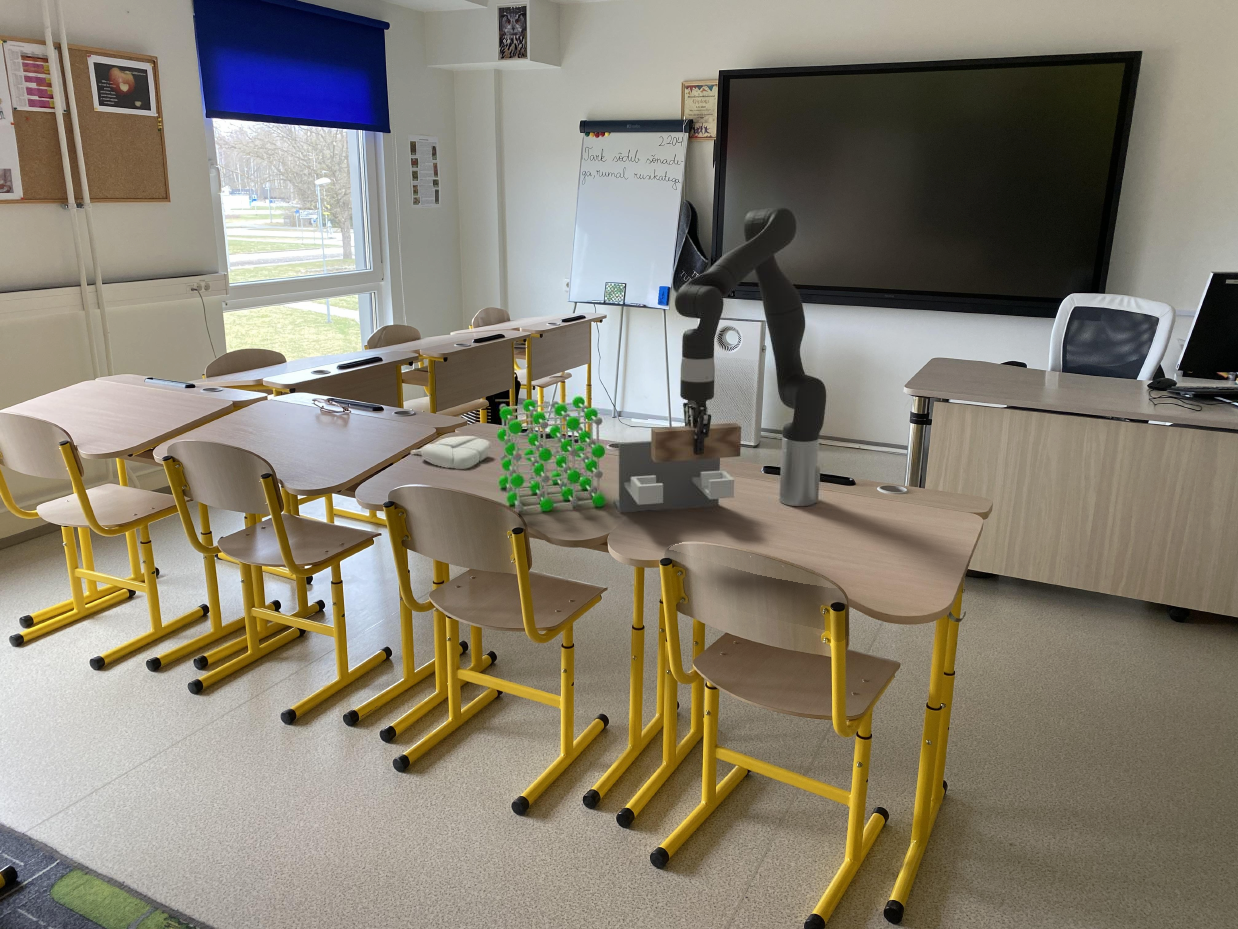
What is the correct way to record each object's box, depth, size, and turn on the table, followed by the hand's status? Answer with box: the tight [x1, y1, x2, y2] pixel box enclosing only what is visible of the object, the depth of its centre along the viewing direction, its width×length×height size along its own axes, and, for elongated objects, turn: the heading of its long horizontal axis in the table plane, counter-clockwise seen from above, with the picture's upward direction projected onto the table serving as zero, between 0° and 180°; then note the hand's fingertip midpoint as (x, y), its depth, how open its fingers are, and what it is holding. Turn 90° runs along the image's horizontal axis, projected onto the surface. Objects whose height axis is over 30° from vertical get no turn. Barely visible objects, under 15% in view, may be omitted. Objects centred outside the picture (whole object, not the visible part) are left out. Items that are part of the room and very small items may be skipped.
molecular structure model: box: [496, 395, 606, 512], centre depth 239 cm, size 24×25×24 cm
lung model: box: [410, 435, 492, 470], centre depth 276 cm, size 7×17×25 cm
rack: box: [613, 440, 735, 514], centre depth 227 cm, size 26×21×18 cm
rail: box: [650, 422, 742, 463], centre depth 207 cm, size 20×4×7 cm, turn 103°
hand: (695, 451), depth 208 cm, fingers closed on rail, 3 cm apart
